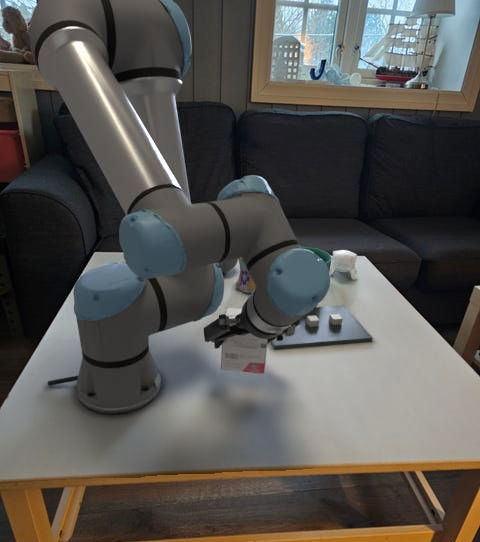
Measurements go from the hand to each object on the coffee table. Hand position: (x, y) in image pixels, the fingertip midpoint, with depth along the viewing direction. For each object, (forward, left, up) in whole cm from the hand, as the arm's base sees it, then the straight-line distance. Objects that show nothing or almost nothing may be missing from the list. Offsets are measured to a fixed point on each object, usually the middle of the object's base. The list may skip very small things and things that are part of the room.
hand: (240, 339), depth 87 cm
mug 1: (+12, +37, -7) cm, 39 cm away
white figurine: (+42, +42, -7) cm, 60 cm away
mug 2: (+26, +37, -7) cm, 46 cm away
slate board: (+21, +13, -6) cm, 25 cm away
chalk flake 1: (+21, +13, -5) cm, 25 cm away
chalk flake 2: (+27, +13, -5) cm, 30 cm away
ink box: (0, -3, -4) cm, 5 cm away
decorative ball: (+5, +48, -7) cm, 48 cm away
